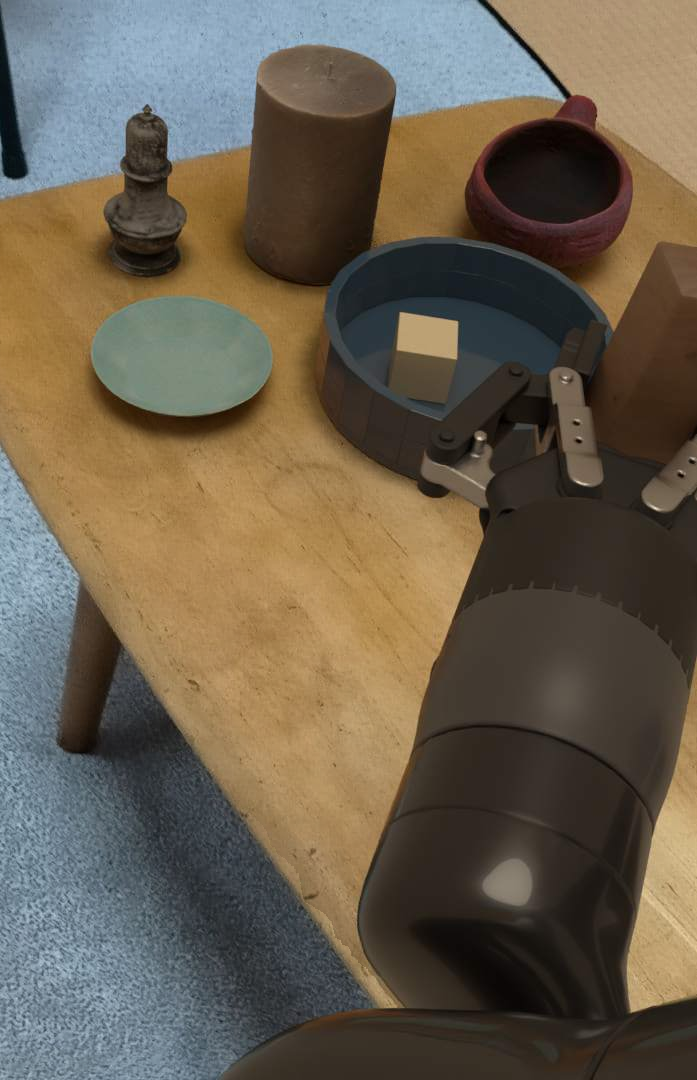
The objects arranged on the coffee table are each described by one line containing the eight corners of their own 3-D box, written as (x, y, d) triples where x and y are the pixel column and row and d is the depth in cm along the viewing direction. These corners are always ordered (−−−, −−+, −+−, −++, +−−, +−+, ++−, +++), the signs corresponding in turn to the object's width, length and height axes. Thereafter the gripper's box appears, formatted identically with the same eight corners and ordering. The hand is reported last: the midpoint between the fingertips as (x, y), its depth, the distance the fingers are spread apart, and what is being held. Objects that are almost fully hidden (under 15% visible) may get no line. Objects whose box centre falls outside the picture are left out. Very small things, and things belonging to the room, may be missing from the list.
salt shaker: (132, 288, 88) (134, 136, 79) (88, 244, 91) (84, 93, 82) (201, 264, 91) (209, 115, 82) (156, 222, 93) (159, 73, 85)
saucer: (136, 460, 77) (137, 434, 75) (63, 345, 83) (61, 318, 81) (301, 410, 82) (305, 385, 80) (220, 305, 88) (222, 279, 86)
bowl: (633, 295, 96) (666, 206, 90) (474, 294, 93) (498, 203, 87) (574, 177, 106) (601, 91, 100) (430, 173, 103) (448, 84, 97)
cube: (446, 366, 86) (458, 320, 83) (445, 404, 83) (457, 359, 80) (390, 357, 86) (399, 311, 83) (386, 395, 83) (396, 349, 80)
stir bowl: (618, 351, 91) (642, 290, 87) (560, 530, 78) (584, 469, 74) (368, 269, 93) (380, 206, 89) (271, 429, 80) (279, 365, 76)
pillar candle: (388, 276, 93) (425, 92, 82) (266, 294, 90) (287, 104, 78) (340, 202, 99) (368, 20, 87) (223, 216, 95) (237, 29, 84)
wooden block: (528, 583, 52) (682, 294, 41) (514, 526, 54) (657, 237, 43) (670, 597, 53) (854, 321, 43) (651, 540, 56) (821, 265, 45)
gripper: (845, 694, 34) (874, 340, 45) (358, 523, 36) (502, 223, 47) (744, 828, 39) (792, 483, 51) (326, 674, 41) (462, 373, 53)
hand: (652, 359), depth 49 cm, fingers closed on wooden block, 4 cm apart
